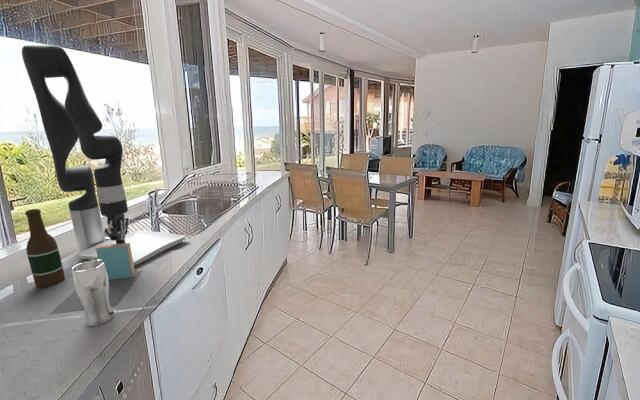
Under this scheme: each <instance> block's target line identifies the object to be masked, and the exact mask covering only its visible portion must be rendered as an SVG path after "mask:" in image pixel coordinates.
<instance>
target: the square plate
mask: <svg viewBox="0 0 640 400" xmlns="http://www.w3.org/2000/svg"><path fill="white" fill-rule="evenodd" d="M185 238H187V235H184V234H177V233H170V232H161V231H153V230H152V231H150V230H138V229H137V230H134V231H131V232H127V234H126V235H125V243H130V247H131V253H132V258H133V263H134V267H135V266H137V265H140V264H142V263H143V262H145V261H147V260H149V259H150V258H153V257H154V256H157V255H158V254H160V253H162V252H165V251H166V250H168V249H171V248H172V247H174V246H176V245H179V244H180V243H181V242H182V241H183V240H185ZM111 244H116V240H113V241H112V240H111V239H109V240H106V242H103V243H101V244H98V245H96V246H94V247H91V248H89V249H87V250H84V251H82V252H79V251H78V253H75V256H77V257H78V258H81V259H85V260H87V261H90V260H98V257H97V252H96V247H97V246H100V245H111Z"/></svg>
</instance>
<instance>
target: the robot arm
mask: <svg viewBox="0 0 640 400" xmlns="http://www.w3.org/2000/svg"><path fill="white" fill-rule="evenodd" d="M21 56H22V61H23V64H24V68H25V70H26V73H27V75H28V78H29V81H30V84H31V86H32V89H33V93H34V95H35V98H36V101H37V105H38V109H39V113H40V117H41V122H42V125H43V130H44V132H45V135H46V140H47V142H48V145H49V149H50V152H51V154H52V159H53V165H54V170H55V174H56V180H57V184H58V186H59V188H60V190H61V191H62V192H64V193H71V192H72V193H73V192H81V191H85V193H84V194H82V195H81V196H79V197H78V198H75V199H73V200H71V201H70V202H68V210H69V213H70V217H71V223H72V227H73V231H74V235H75V240H76V244H77V249H78V253H79V252H82V251H84V250H87V249H89V248H91V247H94V246H96V245H98V244H101V243H103V242H106V241H107V239H106V236H108V238H109V240H112V241H113V240H116V244H122V243H125V235H126V234H127V233H128V230H129V220H130V219H129V218H128V217H125V214H126V213H128V211H129V208H128V203H127V196H126V191H125V188H124V184H123V181H122V180H123V179H122V174H121V167H122V158H123V145H122V143H121V141H120V139H119V138H118V137H117V136H115V135H111V134H110V135H109V134H108V135H95V134H97V133H99V132H100V131H101V130H102V129H103V123H102V121H101V119H100V118H99V116H98V114H97V112H96V111H95V109H94V107H93V106H92V104H91V102H90V101H89V99H88V96H87V94H86V92H85V89H84V87H83V85H82V82H81V80H80V77H79V75H78V73H77V70H76V68H75V66H74V64H73V62H72V60H71V58H70V56H69V54H68V53H67V51H66V50H65V48H63V47H62V46H61V45H60V46H59V45H47V44H46V45H45V44H44V45H43V44H42V45H41V44H39V45H37V44H36V45H35V44H34V45H31V44H28V45H23V47H22V48H21ZM52 78H64V79H65V81H66V84H67V88H66V89H67V90H66V95H65V100H64V103H63V102H62V101H61V100H60V99H59V98H57V96H55V94H54V93H53V92H52V91H51V89H50V88H49V85H47V81H46V80H47V79H52ZM78 141H79V145H80V150H81V152H82V154H83V155H84V156H85V157H86V158H88V159H89V160H94V161H98V160H104V159H105V162H104V164H103V165H101V166H99V167H97V168H95V169H94V170H92V168H91V167H90V166H89V165H80V166H79V165H78V166H77V165H76V166H69V167H67V161H68V158H69V156H70V154H71V152H72V150H73V148H74V147H75V146H76V144H77V142H78ZM95 186H96V187H95ZM102 216H103V217H106V218H107V219H106V223H107V226H108V227H107V228H106V227H105V228H104V226H103V222H102ZM105 234H106V236H105Z"/></svg>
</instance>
